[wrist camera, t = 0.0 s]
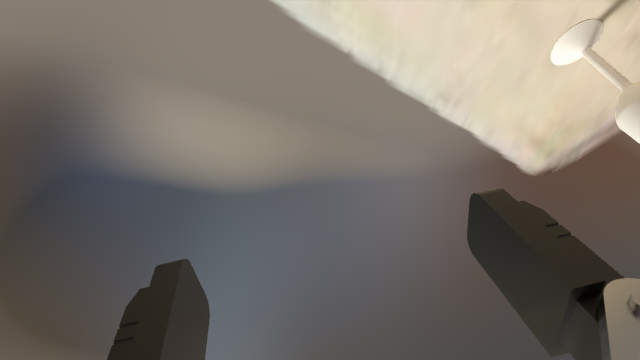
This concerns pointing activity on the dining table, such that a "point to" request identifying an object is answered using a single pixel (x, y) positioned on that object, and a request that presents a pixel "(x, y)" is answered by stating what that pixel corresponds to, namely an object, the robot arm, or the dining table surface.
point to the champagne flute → (636, 99)
